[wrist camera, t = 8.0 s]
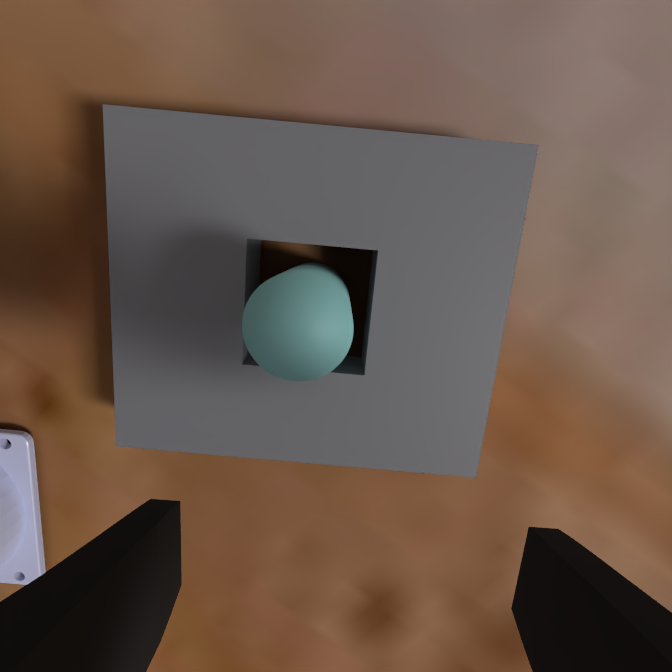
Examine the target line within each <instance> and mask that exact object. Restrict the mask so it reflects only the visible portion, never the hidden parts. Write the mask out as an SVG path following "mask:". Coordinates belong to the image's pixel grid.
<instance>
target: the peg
mask: <svg viewBox="0 0 672 672" xmlns="http://www.w3.org/2000/svg"><path fill="white" fill-rule="evenodd" d="M242 333H243V338H244V341H245V345H246V347H247V349H248V351H249V353H250V354H251V356H252V358H253V359H254V360H255V361H256V362H257V364H258V365H260V366H261V367H262V368H263V369H264V370H266V371H267V372H268V373H270V374H272V375H274V376H276V377H279V378H281V379H285V380H289V381H309V380H314V379H317V378H320V377H322V376H324V375H326V374H328V373H329V372H331V371H332V370H334V369H335V368H336V367H337V366H338V365H339V364H340V363H341V362H342V360H343V359H344V358H345V356H346V355H347V353H348V351H349V348H350V346H351V343H352V339H353V333H354V324H353V316H352V310H351V303H350V297H349V291H348V287H347V285H346V282H345V281H344V279H343V278H342V276H341V275H340V274H339V273H338V272H337V271H336V270H335V269H333V268H332V267H330V266H328V265H325V264H322V263H317V262H309V263H303V264H300V265H298V266H296V267H293V268H291V269H289V270H287V271H285V272H283V273H280V274H278V275H276V276H274V277H272V278H270V279H268V280H267V281H265V282H264V283H262V284H261V285H260V286H259V287H258V288H257V289H256V290H255V291H254V292H253V294H252V295H251V296H250V298H249V300H248V302H247V304H246V306H245V309H244V313H243V318H242Z"/></svg>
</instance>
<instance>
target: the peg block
mask: <svg viewBox="0 0 672 672" xmlns="http://www.w3.org/2000/svg"><path fill="white" fill-rule="evenodd" d="M103 126H104V151H105V177H106V202H107V228H108V253H109V278H110V304H111V329H112V355H113V380H114V405H115V431H116V446H120V447H131V448H142V449H154V450H165V451H177V452H188V453H200V454H211V455H223V456H234V457H245V458H257V459H268V460H280V461H291V462H303V463H314V464H326V465H337V466H349V467H360V468H371V469H383V470H394V471H406V472H417V473H429V474H440V475H452V476H463V477H474V478H476V474H477V469H478V464H479V458H480V453H481V448H482V443H483V437H484V432H485V427H486V421H487V416H488V411H489V405H490V400H491V395H492V389H493V384H494V379H495V374H496V368H497V363H498V358H499V352H500V347H501V342H502V336H503V331H504V326H505V320H506V315H507V310H508V304H509V299H510V294H511V289H512V283H513V278H514V273H515V267H516V262H517V257H518V251H519V246H520V241H521V235H522V230H523V225H524V220H525V214H526V209H527V204H528V198H529V193H530V188H531V182H532V177H533V172H534V166H535V161H536V156H537V151H538V145H534V144H523V143H512V142H502V141H491V140H480V139H469V138H459V137H448V136H437V135H427V134H416V133H405V132H394V131H384V130H373V129H362V128H352V127H341V126H330V125H320V124H309V123H298V122H287V121H277V120H266V119H255V118H245V117H234V116H223V115H213V114H202V113H191V112H180V111H170V110H159V109H148V108H138V107H127V106H116V105H105V104H103ZM261 240H269V241H280V242H291V243H302V244H313V245H324V246H335V247H346V248H357V249H367V250H373V251H372V260H371V269H370V279H369V288H368V297H367V307H366V316H365V325H364V335H363V344H362V353H361V357H359V356H348V355H346V356H345V358H344V359H343V360H342V362H341V363H340V364H339V365H338V366H337V367H336V368H335V369H334V370H332V371H331V372H329V373H328V374H326V375H324V376H322V377H320V378H317V379H314V380H309V381H289V380H285V379H281V378H279V377H276V376H274V375H272V374H270V373H268V372H267V371H266V370H264V369H263V368H262V367H261V366H260V365H258V364H257V362H256V361H255V360H254V359H253V358H252V356H251V354H250V353H249V351H248V349H247V347H246V345H245V341H244V338H243V333H242V318H243V313H244V309H245V306H246V304H247V302H248V300H249V298H250V296H251V295H252V294H253V292H254V291H255V290H256V289H257V288H258V287H259V279H260V257H261Z"/></svg>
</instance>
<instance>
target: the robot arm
mask: <svg viewBox="0 0 672 672" xmlns="http://www.w3.org/2000/svg"><path fill="white" fill-rule="evenodd" d="M7 439H8V440H9V441H10V443H11V444H9V443H8V442H7ZM0 583H12V584H24V585H26V586H24V587H22V588H21V589H19V590H18V591H16V592H15V593H13V594H12V595H10V596H9V597H7V598H6V599H4V600H2V601H1V602H0V672H146V671H147V669H148V667H149V664H150V662H151V660H152V658H153V656H154V654H155V652H156V650H157V648H158V646H159V643H160V641H161V639H162V636H163V634H164V631H165V628H166V626H167V623H168V620H169V618H170V615H171V612H172V610H173V607H174V604H175V601H176V598H177V596H178V593H179V590H180V587H181V524H180V501H170V500H157V499H150V500H148V501H147V502H145V503H144V504H142V505H141V506H139V507H138V508H137V509H135V510H134V511H132V512H131V513H129V514H128V515H127V516H125V517H124V518H122V519H121V520H120V521H118V522H117V523H115V524H114V525H113V526H111V527H110V528H108V529H107V530H106V531H104V532H103V533H101V534H100V535H99V536H97V537H96V538H94V539H93V540H92V541H90V542H89V543H87V544H86V545H84V546H83V547H81V548H80V549H79V550H77V551H76V552H74V553H73V554H71V555H70V556H69V557H67V558H66V559H64V560H63V561H61V562H60V563H59V564H57V565H56V566H54V567H53V568H51V569H50V570H48V571H47V572H46V571H45V560H44V549H43V538H42V527H41V516H40V505H39V494H38V483H37V471H36V460H35V449H34V441H33V438H32V437H31V435H30V434H28V433H27V432H24V431H18V430H6V429H0ZM512 611H513V615H514V618H515V621H516V624H517V627H518V630H519V633H520V636H521V640H522V643H523V645H524V648H525V651H526V654H527V657H528V660H529V663H530V665H531V668H532V670H533V672H672V613H671V612H670V611H669V610H667V609H666V608H665V607H663V606H662V605H661V604H659V603H658V602H657V601H655V600H654V599H653V598H651V597H650V596H649V595H647V594H646V593H645V592H643V591H642V590H641V589H639V588H638V587H637V586H635V585H634V584H633V583H631V582H630V581H629V580H627V579H626V578H625V577H623V576H622V575H621V574H619V573H618V572H617V571H616V570H614V569H613V568H612V567H610V566H609V565H608V564H606V563H605V562H604V561H602V560H601V559H600V558H598V557H597V556H596V555H594V554H593V553H592V552H590V551H589V550H588V549H586V548H585V547H583V546H582V545H581V544H579V543H578V542H577V541H575V540H574V539H572V538H571V537H570V536H568V535H567V534H565V533H564V532H562V531H561V530H559V529H551V528H537V527H529V528H528V533H527V538H526V543H525V547H524V552H523V557H522V562H521V566H520V571H519V576H518V580H517V585H516V590H515V595H514V599H513V604H512Z"/></svg>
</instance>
